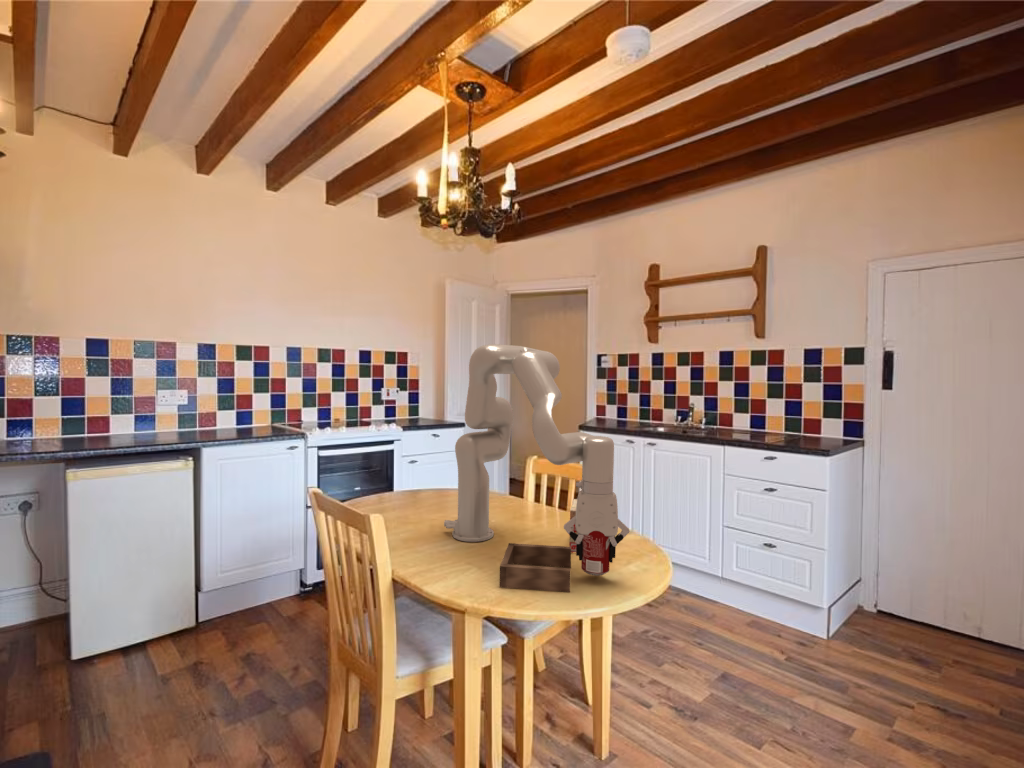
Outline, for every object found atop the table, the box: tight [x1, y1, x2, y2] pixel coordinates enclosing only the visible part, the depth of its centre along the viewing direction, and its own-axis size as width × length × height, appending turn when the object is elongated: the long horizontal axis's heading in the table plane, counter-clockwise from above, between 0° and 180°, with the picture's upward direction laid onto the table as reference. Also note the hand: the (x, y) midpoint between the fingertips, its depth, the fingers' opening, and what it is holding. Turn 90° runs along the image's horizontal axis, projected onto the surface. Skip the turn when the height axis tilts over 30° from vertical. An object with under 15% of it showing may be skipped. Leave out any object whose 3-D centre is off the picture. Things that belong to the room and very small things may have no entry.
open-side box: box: [499, 542, 572, 593], centre depth 128 cm, size 16×16×5 cm
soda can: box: [580, 527, 610, 577], centre depth 126 cm, size 7×7×12 cm
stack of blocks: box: [568, 498, 578, 553], centre depth 154 cm, size 21×6×12 cm, turn 169°
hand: (595, 558), depth 126 cm, fingers closed on soda can, 6 cm apart
